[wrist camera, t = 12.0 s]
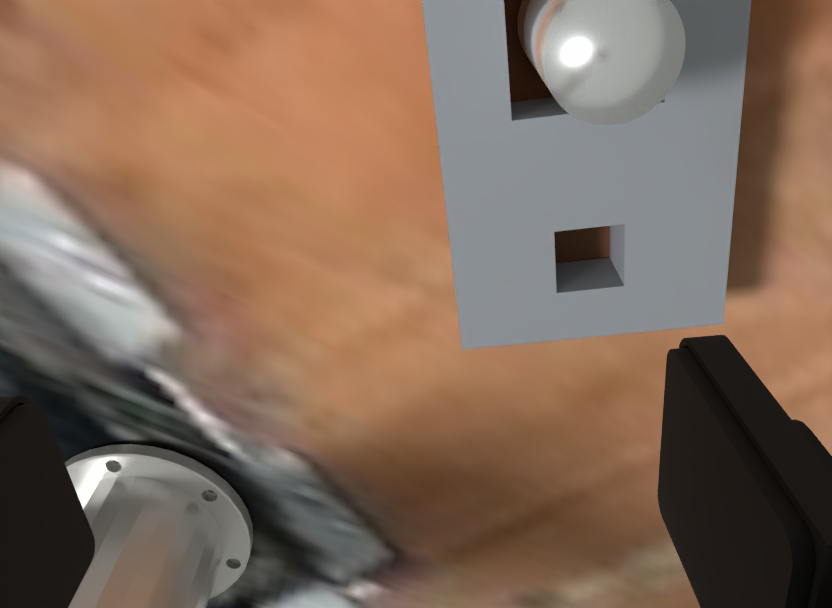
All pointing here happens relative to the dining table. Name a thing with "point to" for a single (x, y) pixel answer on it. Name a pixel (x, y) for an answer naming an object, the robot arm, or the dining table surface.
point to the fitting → (604, 54)
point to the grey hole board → (585, 186)
